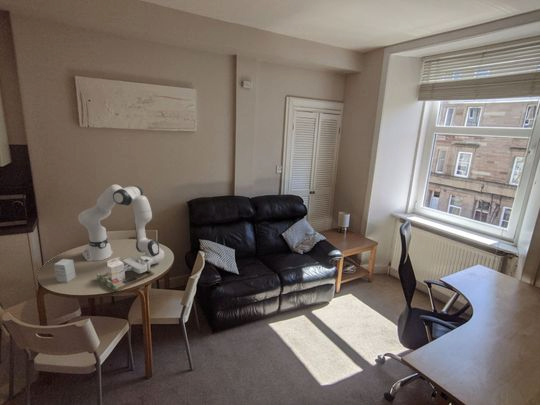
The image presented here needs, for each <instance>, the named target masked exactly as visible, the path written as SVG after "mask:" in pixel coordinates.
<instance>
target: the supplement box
mask: <svg viewBox="0 0 540 405" xmlns="http://www.w3.org/2000/svg"><path fill="white" fill-rule="evenodd" d="M74 263H75V262H74V260H73V259H68V258H67V259H66V258H62V259H60V260H58V261H57V262H56V263H54V264H53V266H54V271H55V277H56V281H57V282H58V283H67V284H68V283H69V282H70V281H72V280H74V279H75V278H76V277H77V276H76V270H75V264H74Z"/></svg>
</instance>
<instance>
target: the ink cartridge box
mask: <svg viewBox="0 0 540 405" xmlns="http://www.w3.org/2000/svg"><path fill="white" fill-rule="evenodd" d="M120 258H121V257H120V256H117V257H114V258H111V259H110V260H107V262H106V264H107V265H106V267H107V273H108V276H107V279H108V280H110V281H111V282H113V283H114V284H116V283H118V282H120V281H124V280H126V274H125V272H126V271H125V272H124V263H123V262H122V261H121V260H120Z"/></svg>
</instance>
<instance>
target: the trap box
mask: <svg viewBox="0 0 540 405" xmlns="http://www.w3.org/2000/svg"><path fill="white" fill-rule="evenodd" d="M124 267H125V266H124ZM124 272H125V275H127V274H128V273H127V271H124ZM145 273H147V274H146V275H144V276H142V277H140V278H137V277H136V276H132V277H130V278H128V279H124V280H122V283H123V285H121V286H118V285H117V284H116V283H113V282H111V281H110V280H109V279H108V272H106V273H104V274H100V273H99V272H98V273H97V272H96V279H97V280H98V281H99V282H101V283H102V284H104V285H105V286H106V287H108V288H110V289H112V290H113V291H115V292H119V291H121V290H124V289H125V288H127V287H130V286H132V285H134V284H136V283H139V282H141V281H143V280H145V279H148V278H149V277H152V276H154V275H155V273H154V272H153V271H152V270H148V271H146V272H145Z"/></svg>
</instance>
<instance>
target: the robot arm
mask: <svg viewBox="0 0 540 405" xmlns="http://www.w3.org/2000/svg"><path fill="white" fill-rule="evenodd" d="M143 194H144V193H143V190H142V188H141V187H140V186H137V185H130V186H125V187H122V186H121V185H119V184H117V183H116V184H111V185H110V186H109V187H108V188H106V189H105V190H104V192H103V193H102V194H101V195H100V196H99V197H98V198H97V199H96V204H95V205H94V206H92V207H90V208H87V209H85V210H83V211H81V213H79V214H78V216H77V219H78V222H79V224H80V225H82V226H84V227H85V228H86V229H87V232H88V238H89V239H88V244H87V245H86V246H85V249H84V251H83V252H82V256H83V257H84V258H85V260H86V261H87V262H90V261H91V262H92V261H94V262H95V261H96V262H97V261H102V260H107V259H108V258H110V257H111V256H112V254H114V250H112V247H111V243H109V240H108V235H107V229H106V227H104V226H103V225H101V221H103V220H105V219H107V218H108V217H109V216H110V215H111V214H112V209H113V208H114V207H115V205H116V204H118V205H120V206H121V205H123V206H130V205H131V206H132V209H133V215H134V218H135V220H134V226H135V227H134V230H135V236H136V242H135V247H136V248H135V249H136V250H137V252H139V253H143V255H140V256H138V257H128V258H125V259H122V261H121V262H123V263H124V266H125V267H124V271H125V272H127V271H133V272H134V273H137V274H143V273H147V272H146V271H148V270H149V271H151V266H152V265H156V264H157V263H159V262H161V261H162V260H164V258H165V255H166V254H165V251H164V250H163V249H162V248H161V247H160V243H159V242H158V241H157V239H149V238H148V237H147V235H146V229H145V228H146V225H147V224H149V222H151V220H152V219H153V212H152V207H151V205H150V201H149V199H148V198H147V196H145V195H143Z"/></svg>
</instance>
